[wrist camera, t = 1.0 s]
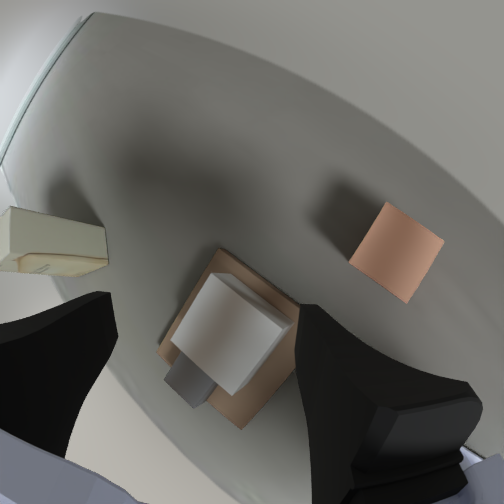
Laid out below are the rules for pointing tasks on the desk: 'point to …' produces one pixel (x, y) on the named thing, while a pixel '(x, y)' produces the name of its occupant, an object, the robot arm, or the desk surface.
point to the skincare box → (49, 244)
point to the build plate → (275, 364)
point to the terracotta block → (396, 252)
